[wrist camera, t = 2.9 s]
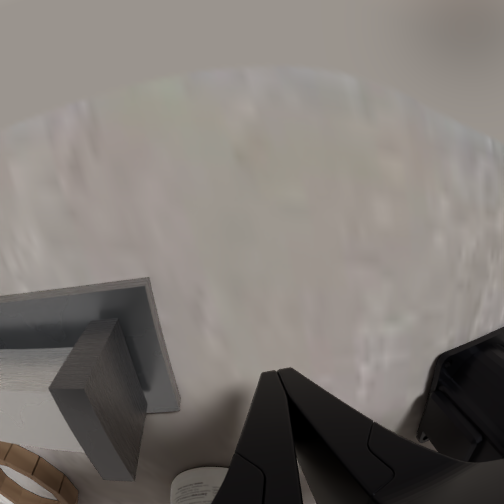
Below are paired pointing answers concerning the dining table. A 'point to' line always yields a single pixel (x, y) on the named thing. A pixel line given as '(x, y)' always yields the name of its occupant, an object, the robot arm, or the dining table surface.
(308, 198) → the dining table surface
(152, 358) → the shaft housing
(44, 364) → the grey long bar
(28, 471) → the bottle collar
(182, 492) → the pill bottle
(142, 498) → the dining table surface
